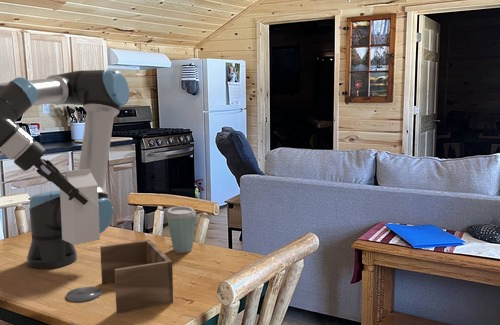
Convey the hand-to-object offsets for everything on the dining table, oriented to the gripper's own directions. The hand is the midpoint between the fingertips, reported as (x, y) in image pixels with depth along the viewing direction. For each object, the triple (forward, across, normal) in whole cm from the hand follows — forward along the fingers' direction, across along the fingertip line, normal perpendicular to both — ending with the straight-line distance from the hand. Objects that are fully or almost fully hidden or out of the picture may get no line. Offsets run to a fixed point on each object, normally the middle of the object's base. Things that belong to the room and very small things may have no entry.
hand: (92, 206), depth 127 cm
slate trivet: (+15, 0, -19) cm, 24 cm away
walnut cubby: (+24, +4, -10) cm, 27 cm away
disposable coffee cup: (+41, -26, +6) cm, 49 cm away
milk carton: (+4, 0, -9) cm, 10 cm away
